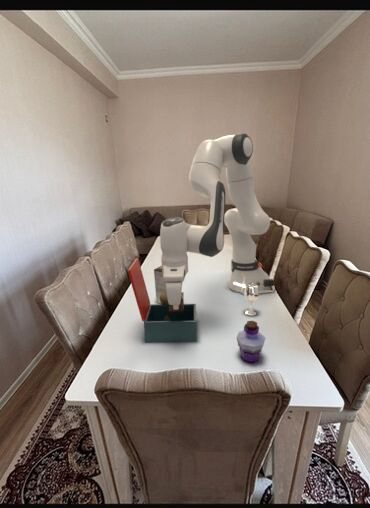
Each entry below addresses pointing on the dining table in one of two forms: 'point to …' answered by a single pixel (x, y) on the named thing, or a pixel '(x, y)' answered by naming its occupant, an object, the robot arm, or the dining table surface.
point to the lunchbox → (170, 324)
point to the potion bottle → (250, 342)
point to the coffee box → (159, 283)
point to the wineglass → (251, 296)
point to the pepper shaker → (164, 301)
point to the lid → (139, 288)
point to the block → (181, 305)
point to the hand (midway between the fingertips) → (176, 304)
